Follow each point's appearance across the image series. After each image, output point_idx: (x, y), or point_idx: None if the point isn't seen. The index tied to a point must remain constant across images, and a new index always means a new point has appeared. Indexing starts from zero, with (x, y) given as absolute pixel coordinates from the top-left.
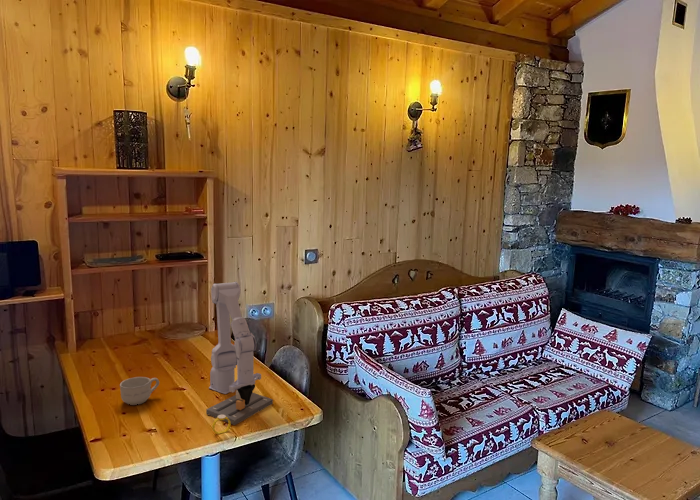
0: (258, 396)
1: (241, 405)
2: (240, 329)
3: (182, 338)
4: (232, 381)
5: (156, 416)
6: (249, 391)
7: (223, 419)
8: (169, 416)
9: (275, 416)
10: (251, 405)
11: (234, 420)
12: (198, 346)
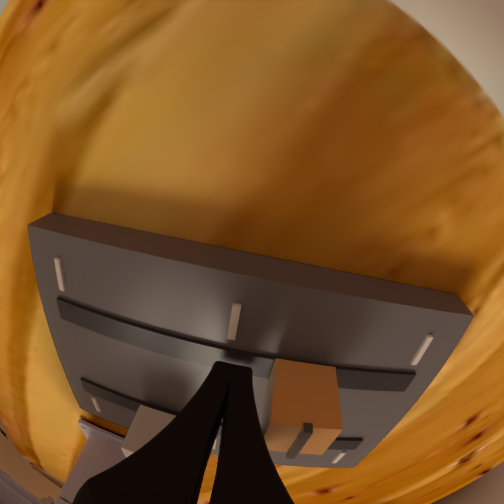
0: (65, 335)
1: (321, 395)
2: None
3: None
4: (97, 464)
5: (390, 491)
6: (217, 496)
7: None
8: (388, 482)
9: (198, 53)
10: (190, 331)
11: (472, 315)
12: (63, 477)
